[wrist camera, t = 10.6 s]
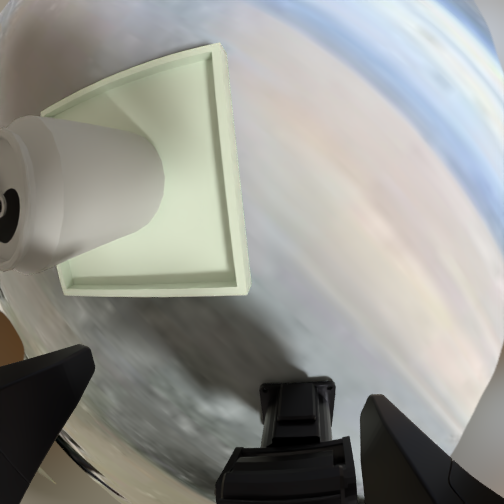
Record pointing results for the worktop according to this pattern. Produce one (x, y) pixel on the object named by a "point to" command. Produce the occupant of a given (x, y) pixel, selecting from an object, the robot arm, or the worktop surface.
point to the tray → (170, 181)
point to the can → (71, 189)
